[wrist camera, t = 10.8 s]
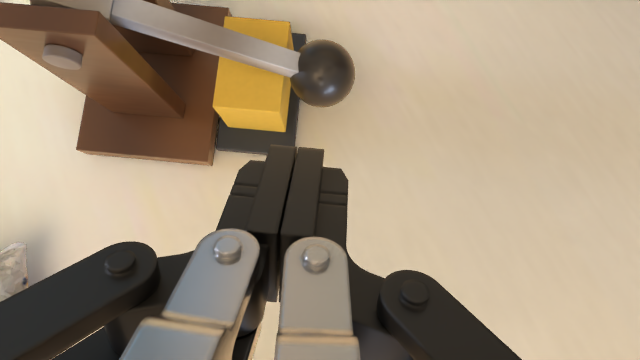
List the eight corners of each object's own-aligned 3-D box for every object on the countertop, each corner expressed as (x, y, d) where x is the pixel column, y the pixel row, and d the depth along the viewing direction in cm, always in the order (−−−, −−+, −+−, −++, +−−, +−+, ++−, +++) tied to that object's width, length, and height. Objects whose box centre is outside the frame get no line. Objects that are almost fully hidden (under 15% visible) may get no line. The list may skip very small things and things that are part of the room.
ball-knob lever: (335, 62, 27) (370, 41, 24) (330, 119, 26) (365, 105, 23) (46, -35, 20) (41, -84, 16) (30, 41, 19) (22, 5, 16)
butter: (306, 38, 29) (303, -2, 24) (293, 157, 27) (288, 139, 23) (233, 31, 29) (217, -9, 24) (217, 150, 28) (197, 131, 23)
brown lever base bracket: (232, 17, 29) (173, -139, 17) (212, 165, 27) (132, 104, 16) (112, 6, 29) (-27, -155, 17) (86, 153, 28) (-87, 84, 16)
